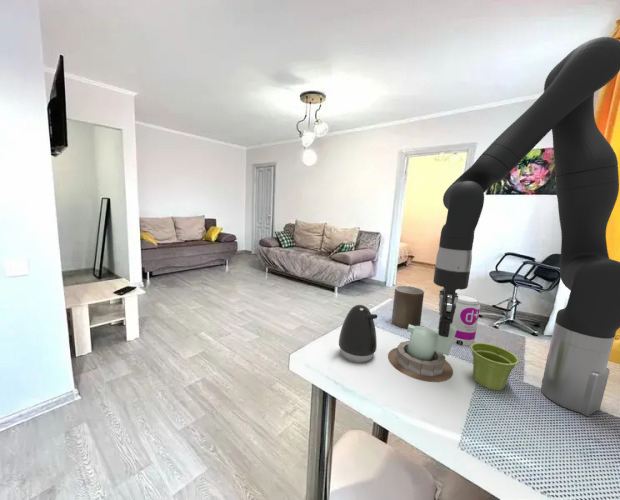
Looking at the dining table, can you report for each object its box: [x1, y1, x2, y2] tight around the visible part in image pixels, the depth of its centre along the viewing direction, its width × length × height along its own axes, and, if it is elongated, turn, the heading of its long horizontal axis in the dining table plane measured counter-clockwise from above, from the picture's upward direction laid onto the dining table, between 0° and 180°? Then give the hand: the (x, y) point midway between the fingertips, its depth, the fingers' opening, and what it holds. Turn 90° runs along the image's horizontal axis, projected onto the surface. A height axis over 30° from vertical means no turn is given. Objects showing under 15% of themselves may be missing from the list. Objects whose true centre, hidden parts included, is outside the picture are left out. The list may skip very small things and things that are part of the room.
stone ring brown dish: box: [387, 340, 454, 383], centre depth 71 cm, size 16×16×4 cm
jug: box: [406, 324, 456, 361], centre depth 69 cm, size 11×6×12 cm, turn 65°
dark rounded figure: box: [338, 304, 378, 363], centre depth 72 cm, size 10×10×15 cm
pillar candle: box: [391, 285, 425, 330], centre depth 94 cm, size 10×10×15 cm
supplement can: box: [448, 293, 481, 347], centre depth 84 cm, size 8×8×15 cm
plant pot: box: [470, 342, 519, 391], centre depth 64 cm, size 9×9×9 cm
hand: (443, 333), depth 68 cm, fingers closed on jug, 2 cm apart
